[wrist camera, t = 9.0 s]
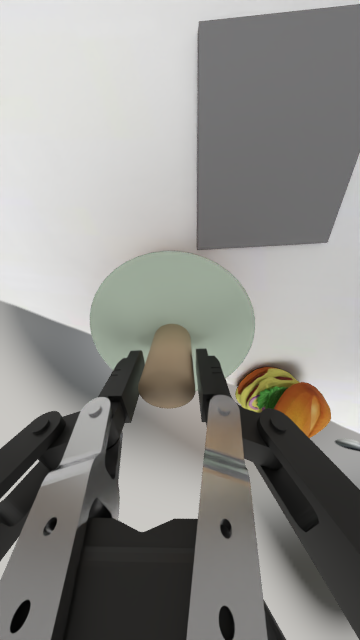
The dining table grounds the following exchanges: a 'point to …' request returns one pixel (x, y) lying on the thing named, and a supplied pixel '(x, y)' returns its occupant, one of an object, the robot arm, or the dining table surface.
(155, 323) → the lid
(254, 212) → the mat
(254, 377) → the cheeseburger
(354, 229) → the dining table surface
